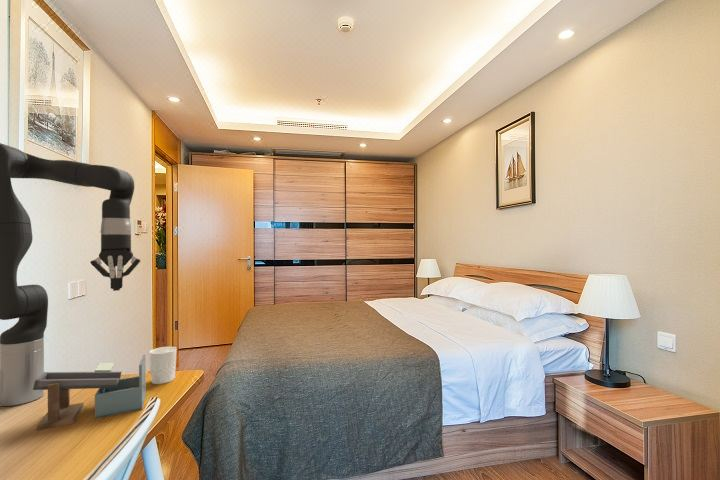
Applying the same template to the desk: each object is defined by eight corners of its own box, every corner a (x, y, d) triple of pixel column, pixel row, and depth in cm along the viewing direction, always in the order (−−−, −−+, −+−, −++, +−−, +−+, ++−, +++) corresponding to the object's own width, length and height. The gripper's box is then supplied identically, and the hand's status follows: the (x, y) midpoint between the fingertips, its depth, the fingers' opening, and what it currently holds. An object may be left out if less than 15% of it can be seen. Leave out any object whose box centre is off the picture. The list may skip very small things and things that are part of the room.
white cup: (164, 385, 109) (164, 354, 109) (143, 384, 110) (143, 353, 110) (182, 376, 116) (181, 346, 116) (162, 375, 118) (161, 345, 118)
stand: (36, 430, 83) (36, 387, 83) (50, 412, 92) (50, 374, 92) (73, 423, 86) (73, 382, 86) (83, 406, 95) (83, 369, 95)
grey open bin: (95, 418, 88) (94, 371, 88) (103, 403, 97) (103, 360, 97) (141, 409, 93) (141, 364, 93) (145, 395, 102) (145, 354, 102)
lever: (32, 390, 84) (35, 379, 84) (51, 372, 96) (53, 362, 96) (115, 387, 92) (117, 377, 92) (123, 371, 104) (125, 362, 104)
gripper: (143, 234, 111) (143, 287, 111) (92, 234, 105) (92, 290, 105) (140, 233, 105) (140, 290, 104) (86, 233, 99) (86, 293, 98)
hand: (116, 290), depth 105 cm, fingers closed
